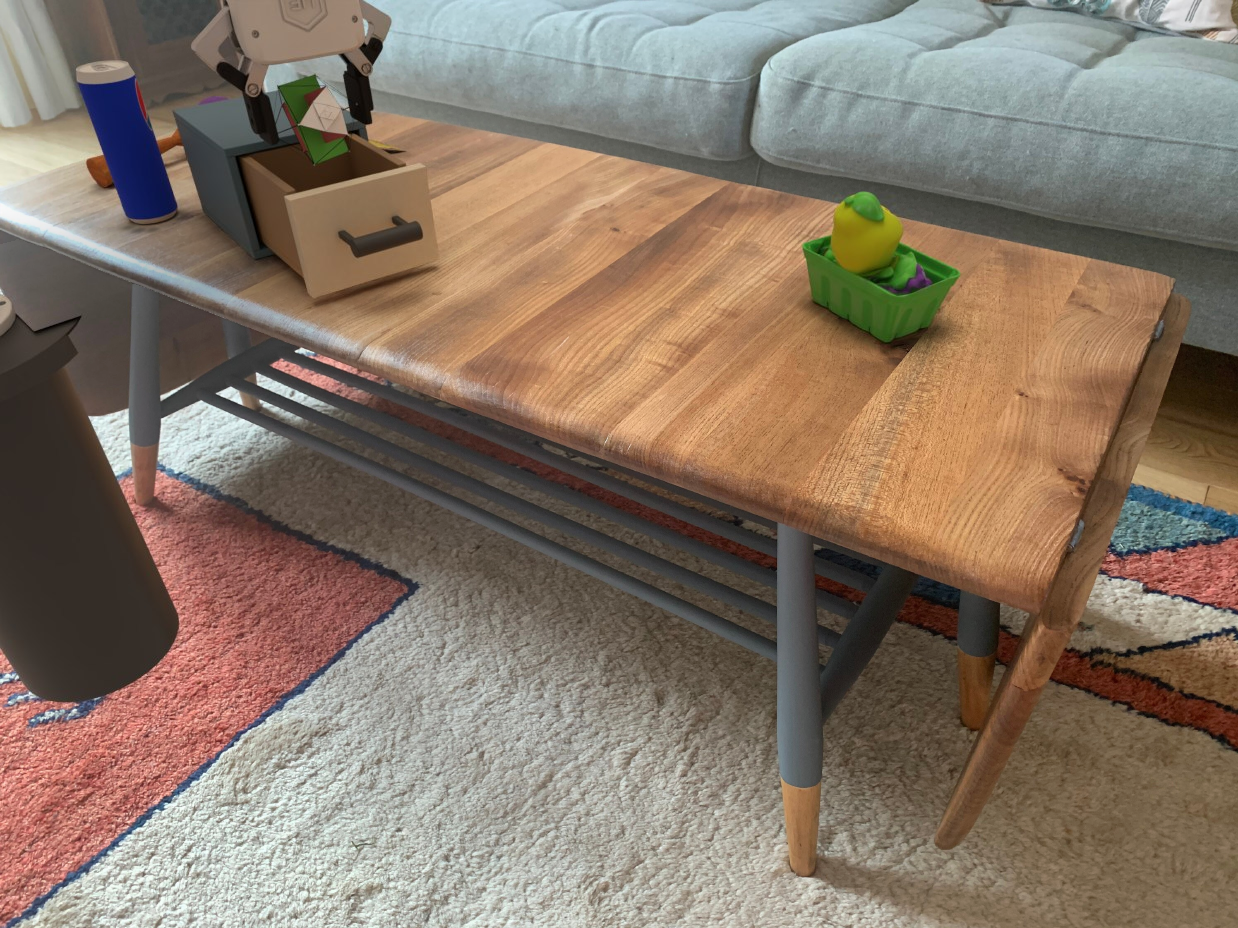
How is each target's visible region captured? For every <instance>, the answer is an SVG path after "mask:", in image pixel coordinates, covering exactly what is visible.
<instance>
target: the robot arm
mask: <svg viewBox="0 0 1238 928" xmlns="http://www.w3.org/2000/svg"><path fill="white" fill-rule="evenodd" d="M220 4H221V9H220V10H219V12H218V13H216V15H215V16H214V17H213V18H212V19H211V20H210V22H209V23H208V24H207V25H206V26H205V27H204V29H203V30H201V32H200V33H199V34H198V35H197V36H196V37H195V39H193V41H192V42H191V44H190V48H191V51H192V52H193V53H194V54H195V55H196V56H197V57H198V58H199V59H200V60H201V61H202V62H203V63H205V64H206V65H207V66H208V67H209V68H210V69H211V70H212V71H213V72H214V73H215V74H216V75H217V76H219V77H220V78H222V79H223V80H225V82H228V83H229V84H230V85H232V86H233V87H234V88H236V89H238V90H239V91H241V93H242V94H241V95H242V97H243V98H244V102H245V105H246V109H247V113H248V117H249V121H250V125H251V128H252V130H253V132H254V133H255V134H259V136H260V138H261V139H263V140H264V141H266V142H267V143H269V144H270V145H275V144H278V142H279V136H278V132H277V128H276V123H275V119H274V115H273V111H272V107H271V102H270V99H269V97H268V96H267V95H266V94H264V93H265V92H264V90H263V85H264V82H265V79H266V75H267V73H268V69H269V66H277V65H283V64H291V63H296V62H302V61H303V62H304V61H307V60H308V61H309V60H313V59H314V60H315V59H319V58H320V59H321V58H325V57H331V56H338V57H339V58H340V59H341V60H342V62H343V63H344V65H346V66H345V67H346V70H343V73H342V78H343V85H344V88H345V93H346V94H345V95H346V100H347V105H348V107H350V106H352V105H355V103H357V104H358V105H357V107H356V105H355V106H353V107H350V108H348V111H350V115H351V117H352V118H354V117H355V120H357V121H359V122H361V123H363V124H365V125H366V126H368V125H372V124H373V116H372V112H373V111H374V109H375V105H374V99H373V94H372V88H371V83H370V77H369V76H371V75H372V73H373V72H374V64H375V63H376V61H377V59H378V58H379V56H380V55H381V53H382V51H383V49H384V41H386V38H387V36H388V33H389V31H390V28H391V26H392V23H393V22H392V18H391V16H389V15H388V14H387V13H385V12H383V11H382V10H380V9H379V8H377V7H375V6H374V5H372V4H371V3H369V2H367V1H365V0H220ZM364 20H365V22H367V24H368V26H367V30H366V31H365V24H364ZM366 32H367V33H366ZM227 38H228V39H229V42H230V44H231V47H232V49H233V50H234V51H235V53H237V54H239V55H241V57H240V60H239V63H238V66H237V68H236V67H235V66H234V65H232V64H230V63H229V62H228V61H227V60H226V58H224V57H223V55H221V53H220V51H219V49H220V46H222V44H223V43H224V42H225V41H226V39H227ZM347 98H349V99H347ZM350 100H352V101H353V102H352V101H350ZM354 102H355V103H354ZM355 108H356V113H354V112H355ZM353 116H354V117H353ZM16 314H17V312H16V310H15V307H14V304H13V303H12V301H11V300H10V299H9V298H8V297H7V296H6V295H3V294H2V293H0V336H2V335H3V334H4V333H5V332H6V331H7V330H8V329H9V328H10V327H11V326H12V324H13V322H14V321H15V317H16Z"/></svg>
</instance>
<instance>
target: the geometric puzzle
mask: <svg viewBox="0 0 1238 928" xmlns="http://www.w3.org/2000/svg"><path fill="white" fill-rule="evenodd" d="M319 80H320V81H323V83H324V84H321V85H320V82H319ZM329 86H330V87H329ZM276 87H277V88H276V90H278V91H279V90H280V92H281V94H282V97H283V99H284V101H285V102H284V103H285V104H284V103H283V104H282V101H281V108H282V107H283V109H284V112H285V114H286V116H287V118H288V120H289V122H290V124H291V126H292V127H291V128H288V129H286V130H289V129H293V131H294V133H295V135H296V137H297V139H298V141H299V143H300V146H301V148H302V150H301V149H299V148H297V149H299V150H301V151H303V152H304V153H305V152H309V154H310V156H311V159H312V160H311V159H310V158H309V157H308V155H307V154H306V153H305V154H306V156H307V157H308V158H309V159H310V161H311V162H312V161H313V162H312V164H314V166H315V165H316V164H319V163H321V162H324V161H326V160H329V159H331V158H334V157H336V156H339V155H341V154H344V153H346V152H350V151H349V149H350V147H349V134H348V131H347V127H346V124H345V120H344V116H343V112H342V111H343V110H345V109H346V110H349V108H350V107H353V106H355V105H356V107H357V105H358V104H357V103H355V102H354V103H355V105H352V106H350V107H349V106H347V107H345V108H344V109H341V107H342V106H341V105H340V104H339V103H338V101H337V99H336V98H335V96H334V95H333V93H332V92H331V90H332V91H334V92H336V93H337V94H339V95H341V96H342V97H345V98H346V100H347V99H349V98H347V95H346V94H345V95H344V94H343V93H342V92H340V90H337V89H336V88H335V87H333V86H332V85H330V83H328V82H326V81H325V80H323V79H322V78H320V77H319V76H317V74H316V73H313V74H312V75H308V76H306V77H303V78H299V79H295V80H293V81H289V82H285V83H283V84H280V85H279V84H277V85H276ZM330 89H331V90H330ZM280 92H279V96H280ZM276 97H277V95H276ZM345 98H344V99H345ZM280 100H281V97H280ZM350 101H352V100H350ZM352 102H353V101H352ZM275 105H276V103H275ZM281 108H280V111H281ZM280 111H279V114H280ZM274 113H275V111H274ZM354 113H356V108H355V112H354ZM279 114H278V117H279ZM278 117H277V120H278ZM353 117H354V116H353ZM354 119H355V117H354ZM277 120H276V123H277ZM352 121H353V119H352ZM351 124H352V123H351ZM353 125H354V123H353ZM350 128H351V127H350ZM286 130H283V131H281V132H284V131H286ZM352 131H353V129H352ZM281 132H279V133H281ZM349 132H350V130H349ZM345 136H346V137H347V136H348V147H349V149H348V147H347V145H346V143H345V141H344V139H345V138H346V137H345ZM343 137H345V138H344V139H343ZM351 137H352V135H351ZM279 140H280V139H279ZM280 141H282V140H280ZM283 142H284V141H283ZM281 143H282V142H281ZM285 143H286V142H285ZM350 143H351V141H350ZM287 144H288V143H287ZM289 145H290V144H289ZM291 146H292V145H291ZM293 147H294V146H293ZM288 148H289V147H288ZM295 148H296V147H295ZM291 150H292V149H291ZM307 150H308V151H307ZM294 152H295V151H294ZM297 154H298V153H297ZM300 156H301V155H300ZM303 158H304V157H303ZM306 160H307V159H306ZM310 161H309V162H310Z"/></svg>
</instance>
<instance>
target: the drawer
mask: <svg viewBox="0 0 1238 928" xmlns="http://www.w3.org/2000/svg"><path fill="white" fill-rule="evenodd" d="M348 134H349V147H350V149H349V147H348V136H347V137H346V136H345V137H346V138H345V137H343V139H344V138H345V139H344V141H345V143H346V145H347V147H348V149H349V151H350V152H346V153H344V154H341V155H339V156H336V157H334V158H331V159H329V160H326V161H324V162H321V163H319V164H316V165H315V166H314V164H312V162H313V161H312V162H311V161H310V159H311V156H310V154H309V152H305V153H306V154H307V155H308V157H309V158H310V159H309V158H308V157H307V156H306V154H305V153H304V152H303V151H301V150H302V148H301V146H300V143H299V142H297V143H293V144H290V145H289V144H288V145H283V146H279V147H274V148H270V149H265V150H260V151H256V152H251V153H246V154H242V155H237V157H238V160H239V164H240V168H241V171H242V175H243V179H244V182H245V186H246V190H247V193H248V197H249V201H250V204H251V208H252V212H253V215H254V219H255V223H256V226H257V230H258V234H259V237H260V240H261V241H262V242H263V243H264V244H265V245H266V246H268V247H269V248H270V249H271V250H272V251H273V252H274V253H275V254H274V255H276V256H278V257H279V259H281V260H282V261H283V262H285V264H286V265H288V266H289V267H290V268H291V269H292V270H294V271H295V272H296V273H297V274H298V275H299V276H300V277H301V278H302V279H303V280H304V284H305V287H306V292H307V295H309V296H310V297H311V298H312V299H316V298H319V297H323V296H325V295H330V294H332V293H335V292H338V291H342V290H345V289H348V288H351V287H355V286H358V285H362V284H365V283H368V282H371V281H374V280H378V279H381V278H384V277H388V276H391V275H394V274H398V273H401V272H404V271H407V270H411V269H414V268H417V267H421V266H424V265H426V264H430V263H433V262H436V261H440V256H439V255H440V254H439V248H438V240H437V235H436V234H437V233H436V228H435V221H434V220H435V219H434V213H433V206H432V200H431V192H430V187H429V179H428V172H427V166H426V165H424V164H423V163H421V162H418V163H414V164H409V165H407V163H406V162H405V161H403V160H402V159H399V157H396V156H395V155H392V154H391V153H389V152H387V151H385V150H384V149H383V148H378V147H377V146H375V145H373V144H371V143H370V142H368V141H366V140H364V139H363V138H361V137H359V136H357V135H356V134H354V133H352V132H349V131H348ZM351 135H352V137H351ZM350 141H351V143H350ZM291 145H292V146H291ZM293 146H294V147H293ZM288 147H289V148H288ZM295 147H296V148H295ZM297 148H299V149H301V150H299V149H297ZM291 149H292V150H291ZM294 151H295V152H294ZM307 151H308V150H307ZM297 153H298V154H297ZM300 155H301V156H300ZM303 157H304V158H303ZM306 159H307V160H306ZM311 160H312V159H311ZM309 161H310V162H309Z"/></svg>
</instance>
